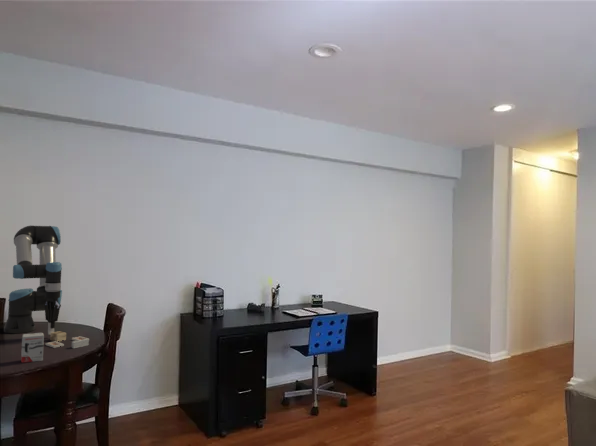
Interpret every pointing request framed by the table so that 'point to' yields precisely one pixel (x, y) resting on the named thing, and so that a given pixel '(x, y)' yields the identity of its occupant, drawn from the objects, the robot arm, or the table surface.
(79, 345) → the block
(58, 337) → the maple block
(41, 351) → the ink box
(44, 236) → the robot arm
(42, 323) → the table surface
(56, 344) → the trap pits
